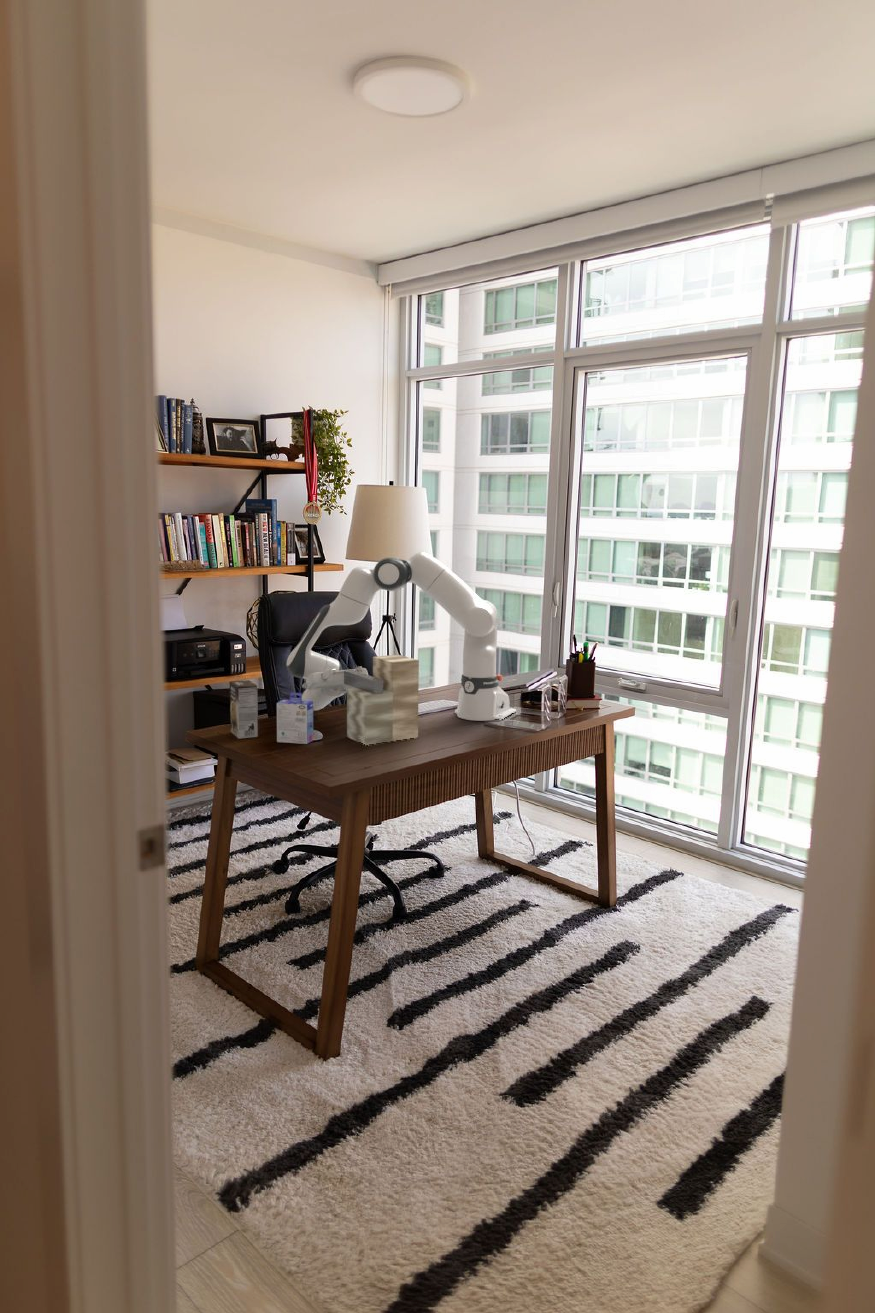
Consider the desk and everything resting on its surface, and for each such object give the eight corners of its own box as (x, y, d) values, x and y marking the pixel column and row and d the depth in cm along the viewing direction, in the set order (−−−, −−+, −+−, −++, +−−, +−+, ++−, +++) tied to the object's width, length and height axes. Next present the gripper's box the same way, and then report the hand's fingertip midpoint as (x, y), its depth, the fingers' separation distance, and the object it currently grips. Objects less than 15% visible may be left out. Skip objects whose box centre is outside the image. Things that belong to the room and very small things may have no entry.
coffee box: (230, 732, 276) (228, 681, 273) (250, 730, 279) (249, 679, 276) (237, 739, 268) (236, 686, 265) (258, 736, 271) (257, 684, 268)
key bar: (343, 683, 277) (343, 670, 277) (352, 682, 279) (352, 670, 278) (374, 694, 262) (374, 680, 261) (383, 693, 263) (383, 679, 263)
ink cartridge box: (314, 740, 268) (313, 692, 265) (308, 744, 262) (307, 696, 260) (283, 738, 270) (282, 691, 267) (276, 742, 264) (275, 694, 262)
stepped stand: (347, 736, 272) (346, 659, 268) (397, 729, 282) (398, 654, 278) (366, 745, 262) (366, 665, 258) (418, 737, 272) (418, 660, 268)
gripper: (297, 679, 284) (314, 663, 273) (354, 673, 295) (372, 658, 284) (302, 697, 282) (319, 682, 271) (359, 691, 294) (377, 676, 283)
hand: (347, 669), depth 278 cm, fingers open, 8 cm apart
